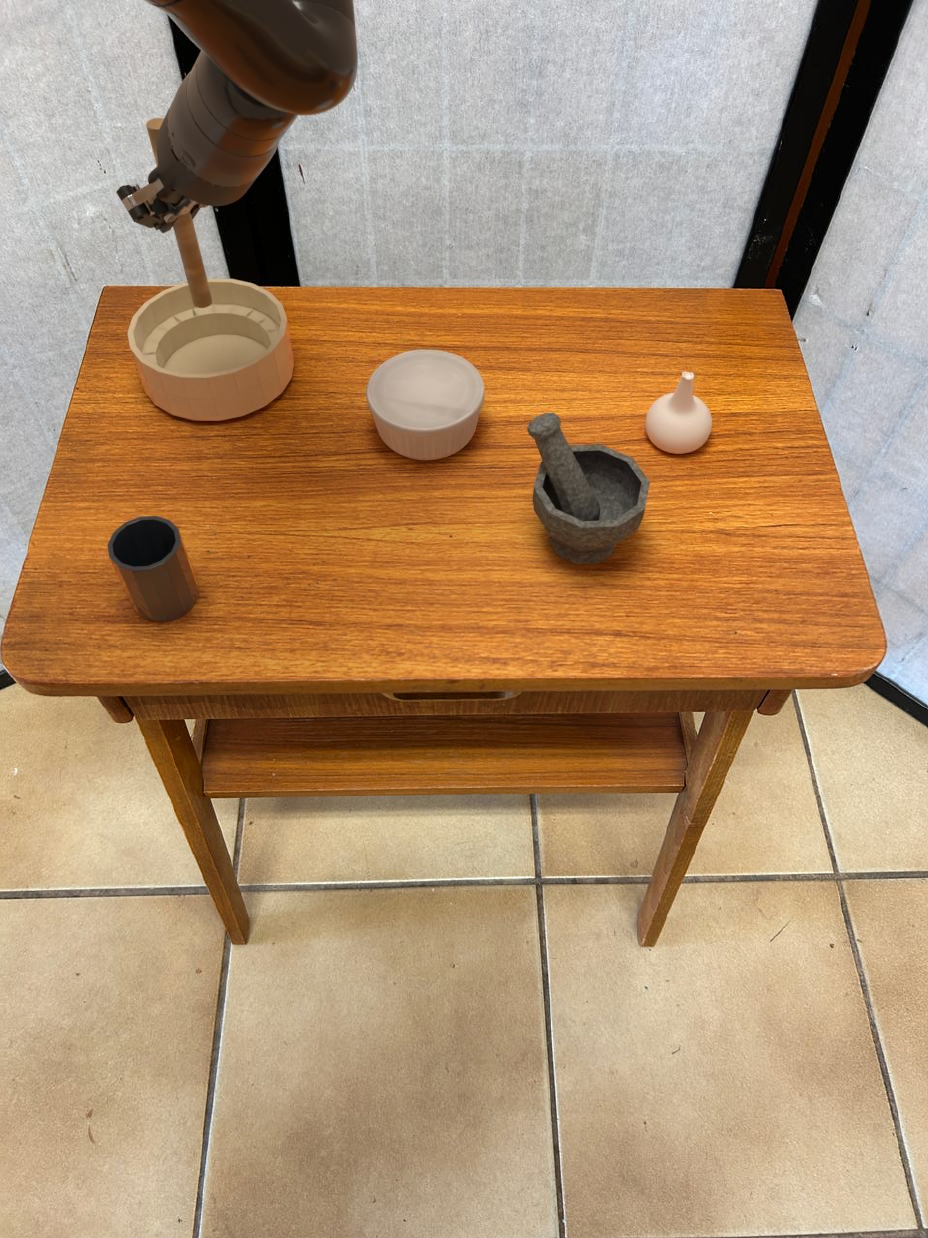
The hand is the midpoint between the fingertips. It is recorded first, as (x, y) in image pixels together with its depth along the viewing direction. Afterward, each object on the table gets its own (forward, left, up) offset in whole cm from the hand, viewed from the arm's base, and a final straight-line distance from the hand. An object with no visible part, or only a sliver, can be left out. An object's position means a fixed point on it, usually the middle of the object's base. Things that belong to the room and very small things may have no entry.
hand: (170, 216), depth 85 cm
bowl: (+1, -2, -17) cm, 17 cm away
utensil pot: (-8, -29, -17) cm, 34 cm away
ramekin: (+19, -16, -17) cm, 30 cm away
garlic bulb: (+42, -24, -17) cm, 51 cm away
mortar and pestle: (+28, -33, -17) cm, 46 cm away
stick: (+1, -2, -8) cm, 8 cm away
